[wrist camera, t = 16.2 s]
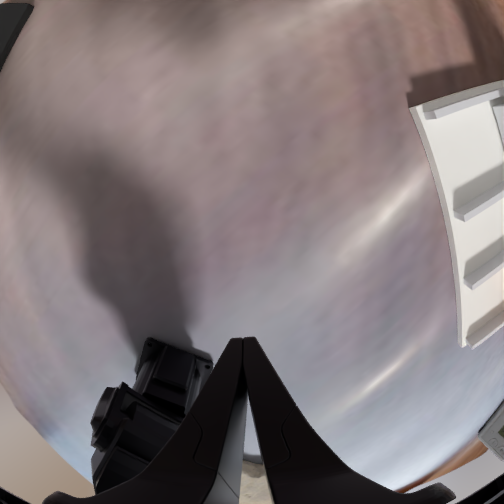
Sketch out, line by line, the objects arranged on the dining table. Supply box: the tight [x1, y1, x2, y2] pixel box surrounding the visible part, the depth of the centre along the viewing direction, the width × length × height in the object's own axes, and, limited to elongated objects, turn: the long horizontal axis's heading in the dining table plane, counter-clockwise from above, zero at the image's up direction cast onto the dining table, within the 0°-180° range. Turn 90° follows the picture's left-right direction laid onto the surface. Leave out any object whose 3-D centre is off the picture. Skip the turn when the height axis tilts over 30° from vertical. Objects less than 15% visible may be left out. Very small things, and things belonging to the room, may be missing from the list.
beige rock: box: [239, 460, 272, 504], centre depth 31 cm, size 24×8×20 cm
